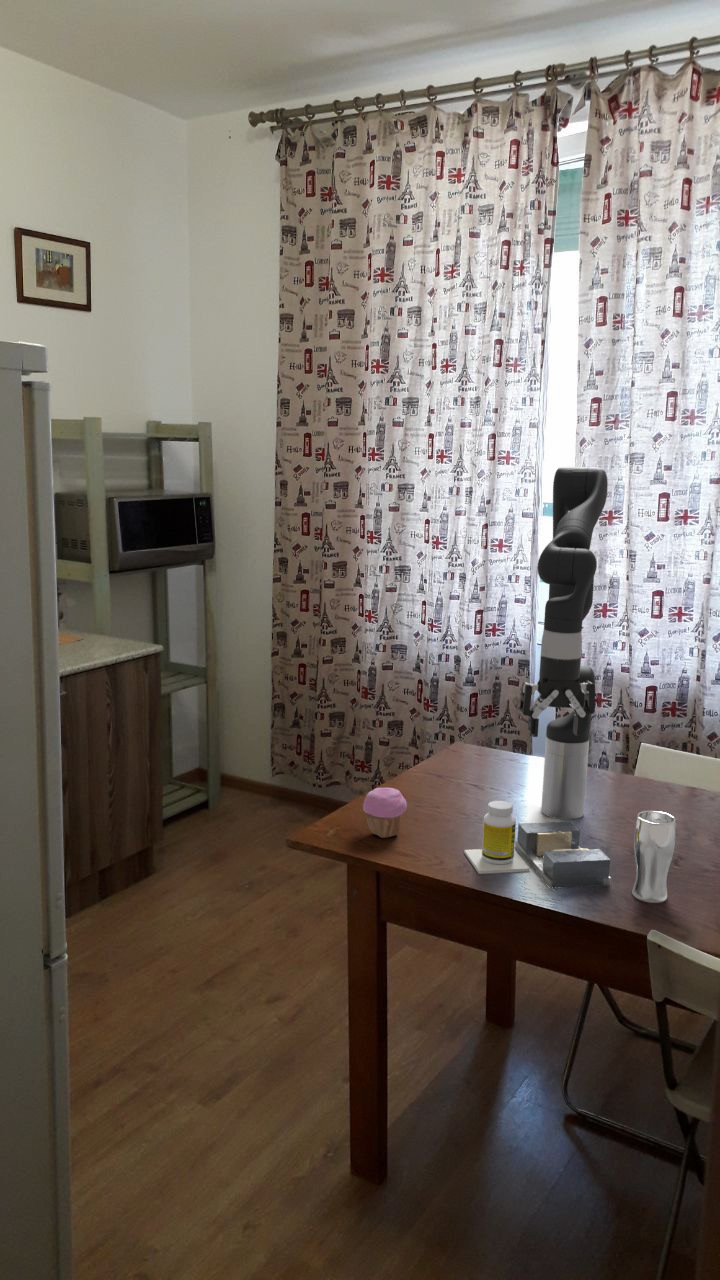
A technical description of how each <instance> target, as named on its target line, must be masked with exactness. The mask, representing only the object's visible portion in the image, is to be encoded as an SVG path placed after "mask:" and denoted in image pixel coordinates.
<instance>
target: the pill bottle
mask: <svg viewBox="0 0 720 1280" xmlns="http://www.w3.org/2000/svg"><path fill="white" fill-rule="evenodd" d="M513 810H514V809H513V804H512V803H510V802H509V801H505V800H492V801H490V802H488V805H487V813H486V814H484V817H483V820H482V821H483V823H482V843H481V849H482V858H483V859H484V860H485V861H487V862H489V863H493V864H508V863H510V862H511V861H512V860H513V858H514V850H515V841H516V839H515V838H516V818H515V816H514V815H513Z"/></svg>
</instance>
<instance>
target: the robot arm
mask: <svg viewBox="0 0 720 1280" xmlns="http://www.w3.org/2000/svg"><path fill="white" fill-rule="evenodd" d="M608 481H609V480H608V476H607V473H606V471H605V470H604V469H603V468H601V467H594V466H559V467H558V468H557V469H556V471H555V472H554V477H553V485H552V540H551V541H550V542H549V543H548V544H546V546H545V547H544V549H543V550H542V552H541V553H540V556H539V559H538V561H537V574H538V576H539V578H540V580H541V581H542V582H544V583H545V584H547V585H548V587H549V588H548V600H547V601H546V602H545V606H544V621H543V632H542V638H541V642H540V643H541V645H540V661H539V675H538V676H539V678H538V681H537V683H529V682H527V681H524V682H522V685H521V692H520V701H519V708H518V711H519V712H520V713H521V714H522V715H524V716H527V717H528V722H527V723H528V724H527V726H528V727H527V731H528V732H529V734H530V735H531V736H532V737H534V738H537V737H539V736H538V735H539V722H540V721H539V720H540V719H539V718H538V717H539V716H540V715H541V714H542V712H543V711H545V710H547V708H548V707H550V708H565V709H566V708H567V709H571V708H572V711H571V712H570V713H568V714H566V715H565V716H561V717H559V718H556V719H553V720H552V721H550V722H548V724H547V726H546V731H545V745H544V746H545V748H544V763H543V764H544V765H543V780H542V791H541V792H542V795H541V810H540V811H541V813H542V814H543V815H545V816H547V817H550V818H554V819H559V820H577V819H580V818H582V817H583V816H584V814H585V813H584V810H585V800H586V799H585V798H586V788H587V774H588V773H587V772H588V764H589V763H588V761H589V747H590V746H589V745H590V731H591V723H592V715H593V714H594V713H595V711H596V677H595V676H596V675H595V672H594V670H593V668H592V667H591V666H590V665H589V666H588V665H582V664H581V662H582V654H583V637H582V636H583V635H582V631H583V621H584V620H585V618H586V617H587V615H588V614H589V613H590V610H591V609H592V606H593V600H594V584H595V582H594V581H595V575H596V572H597V566H598V562H597V558H596V555H595V554H594V552H593V551H591V544H592V538H593V534H594V533H593V532H594V529H595V526H596V525H597V523H598V521H599V519H600V516H601V515H602V512H603V510H604V508H605V505H606V502H607V498H608V497H607V496H608V489H609V487H608V485H609V483H608ZM536 691H537V692H538V693H539V695H538V696H537V698H536V699H535V700H534V702H533V704H532V705H531V700H532V696H533V695H535V692H536Z"/></svg>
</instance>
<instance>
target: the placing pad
mask: <svg viewBox="0 0 720 1280" xmlns="http://www.w3.org/2000/svg"><path fill="white" fill-rule="evenodd" d="M463 853H464V855H465V856H466V858H467V859H468V860H469V862H470V863H471V864H472V866H473V867H474V869H475V871H476V873H478V875H484V874H485V875H486V874H504V873H524V872H531V868H530V866H529V865H528V864H527V862H525V860H524V859H523V858H522V857H521V856H520V855H519V854H518V852H517V851H516V850H515V849H514V858H513V860H512V861H511V862H510V863H508V864H493V863H489V862H487V861H485V860H484V859H483V858H482V848H481V849H480V848H474V849H463Z"/></svg>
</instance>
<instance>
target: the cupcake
mask: <svg viewBox="0 0 720 1280" xmlns="http://www.w3.org/2000/svg"><path fill="white" fill-rule="evenodd" d="M407 806H408V805H407V800H406V799H405V797H404V796H403V794H402V793H401V791H400V790H399V789H396V788H393V787H376V788H374V789H372V790H371V791H369V792H368V793H367V794H366V796H365V798H364V801H363V804H362V809H363V812H364V813H365V816H366V822H367V825H368V827H369V830H370V832H371V833H372V834H373V835H376V836H378V837H380V838H382V839H386V838H391V837H394V836H397V835H398V834H399V833H400V830H401V829H400V828H401V827H400V826H401V820H402V815H403V814H404V813H405V812H406V811H407Z"/></svg>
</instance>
